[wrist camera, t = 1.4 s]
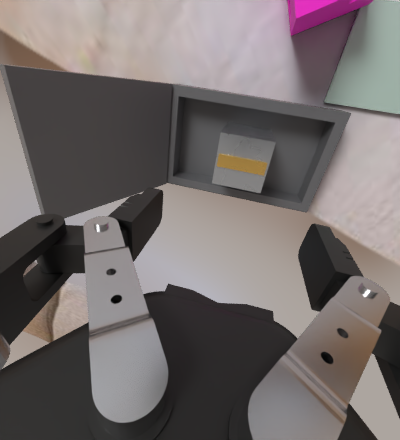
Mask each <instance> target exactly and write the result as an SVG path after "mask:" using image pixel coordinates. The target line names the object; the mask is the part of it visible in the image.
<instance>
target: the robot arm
mask: <svg viewBox="0 0 400 440" xmlns="http://www.w3.org/2000/svg"><path fill="white" fill-rule="evenodd" d="M162 205H163V191H162V190H159V189H154V188H150V187H149V188H147V189H146V190H145V191H144V192H143V193H142V194H136V195H134V196H131V197H129V198H128V199H127V200H126V201H125V202H124V203H123V204H121V206H119V207H118V208H117V209H116V210H115V211H113V212H112V213H111V214H110V215H109V216H108V217H107V216H102V217H95V218H92V219H90V220H88V221H87V222H85V224H84V226H72V225H65V220H64V218H63V217H62V216H60V215H57V214H43V215H38V216H35V217H33V218H31V219H29V220H28V221H26V222H24V223H23V224H21V225H20V226H18V227H17V228H15V229H14V230H12V231H10V232H9V233H7V234H6V235H4V236H3V237H1V238H0V440H377V438H376V437H375V436H374V434H373V433H372V432H371V430H369V428H368V427H367V425H366V424H365V423H364V422H363V420H362V419H361V418H360V416H359V415H358V414H357V413H356V411H355V410H354V409H353V408H352V406H351V405H350V404H349V402H350V400H351V397H352V395H353V393H354V391H355V389H356V386H357V384H358V382H359V380H360V377H361V375H362V373H363V371H364V369H365V367H366V364H367V362H368V360H369V358H370V355H371V353H372V354H374V355H375V357H376V360H377V362H378V365H379V367H380V370H381V372H382V375H383V377H384V380H385V383H386V385H387V388H388V390H389V393H390V395H391V398H392V400H393V403H394V405H395V408H396V410H397V413H398V416H399V418H400V306H399V305H397V304H394V303H392V302H390V297H389V295H388V294H387V292H386V291H385V290H384V289H383V288H382V287H381V286H379V285H378V284H377V283H375V282H373V281H372V280H369V279H367V278H365V277H363V275H362V273H361V271H360V270H359V268H358V266H357V264H356V263H355V261H354V260H353V258H352V256H351V254H350V252H349V251H348V249H347V247H346V246H345V245H344V244H343V243H342V242H341V241H340V240H339V239H338V238H335V236H334V235H333V233H332V231H331V229H330V227H327V226H323V225H318V224H312V225H311V226H310V228H309V230H308V232H307V234H306V236H305V238H304V240H303V242H302V244H301V246H300V249H299V254H298V258H299V262H300V266H301V270H302V274H303V278H304V281H305V286H306V289H307V293H308V297H309V301H310V305H311V308H312V310H316V311H320V313H319V314H318V315H317V316H316V318H315V319H314V320H313V321H312V323H311V324H310V325H309V326H308V327H307V329H306V330H305V331H304V332H303V333H302V335H301V336H300V337H299V338H298V339H297V338H296V337H295V336H294V335H293V334H292V333H291V332H290V331H289V330H287V329H286V328H285V327H283V326H282V325H280V324H279V323H277V322H275V321H274V319H273V311H270V310H266V309H262V308H258V307H254V306H251V305H247V304H227V303H217V302H215V301H213V300H211V299H209V298H207V297H205V296H203V295H201V294H199V293H197V292H195V291H193V290H190V289H186V288H182V287H178V286H174V285H171V284H168V286H167V288H166V290H165V291H159V292H151V293H146V294H143V292H142V289H141V286H140V283H139V279H138V276H137V273H136V270H135V266H134V263H133V262H134V261H135V259H136V258H137V256H138V255H139V253H140V252H141V251H142V249H143V248H144V246H145V245H146V243H147V242H148V240H149V239H150V238H151V236H152V235H153V233H154V232H155V230H156V229H157V227H158V226H159V224H160V222H161V218H162ZM35 260H37V263H38V264H37V265H36V266H35V267H34V268H33V269H31V270H30V271H29V272H28V273H27V274H26V275H25V276H24V277H23V274H24V272H25V270H26V268H27V267H28V266H29V265H30V264H32V263H33V262H34V261H35ZM73 273H85V275H86V290H87V305H88V319H89V322H88V323H86V324H85V325H83V326H81V327H79V328H77V329H75V330H73V331H71V332H70V333H68V334H66V335H64V336H62V337H60V338H58V339H57V340H55V341H53V342H51V343H49V344H47V345H45V346H43V347H42V348H40V349H38V350H36V351H34V352H33V353H30V354H29V355H27V356H25V357H23V358H21V359H19V360H17V361H15V362H14V363H12V364H10V365H8V366H7V367H5V368H3V366H4V365H5V363H6V362H7V359H8V358H9V355H10V346H9V345H10V344H11V343H12V342H13V341H14V340H15V338H16V337H17V336H18V335H19V334H20V333H21V332H22V331H23V329H24V328H25V327H26V326H27V325H28V324H29V323H30V321H31V320H32V319H33V318H34V317H35V316H36V315H37V314H38V312H39V311H40V310H41V309H42V308H43V307H44V306H45V304H46V303H47V302H48V301H49V300H50V299H51V298H52V296H53V295H54V294H55V293H56V292H57V291H58V290H59V289H60V287H61V286H62V285H63V284H64V283H65V282H66V281H67V279H68V278H69V277H70V276H71V275H72V274H73ZM2 368H3V369H2Z"/></svg>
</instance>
